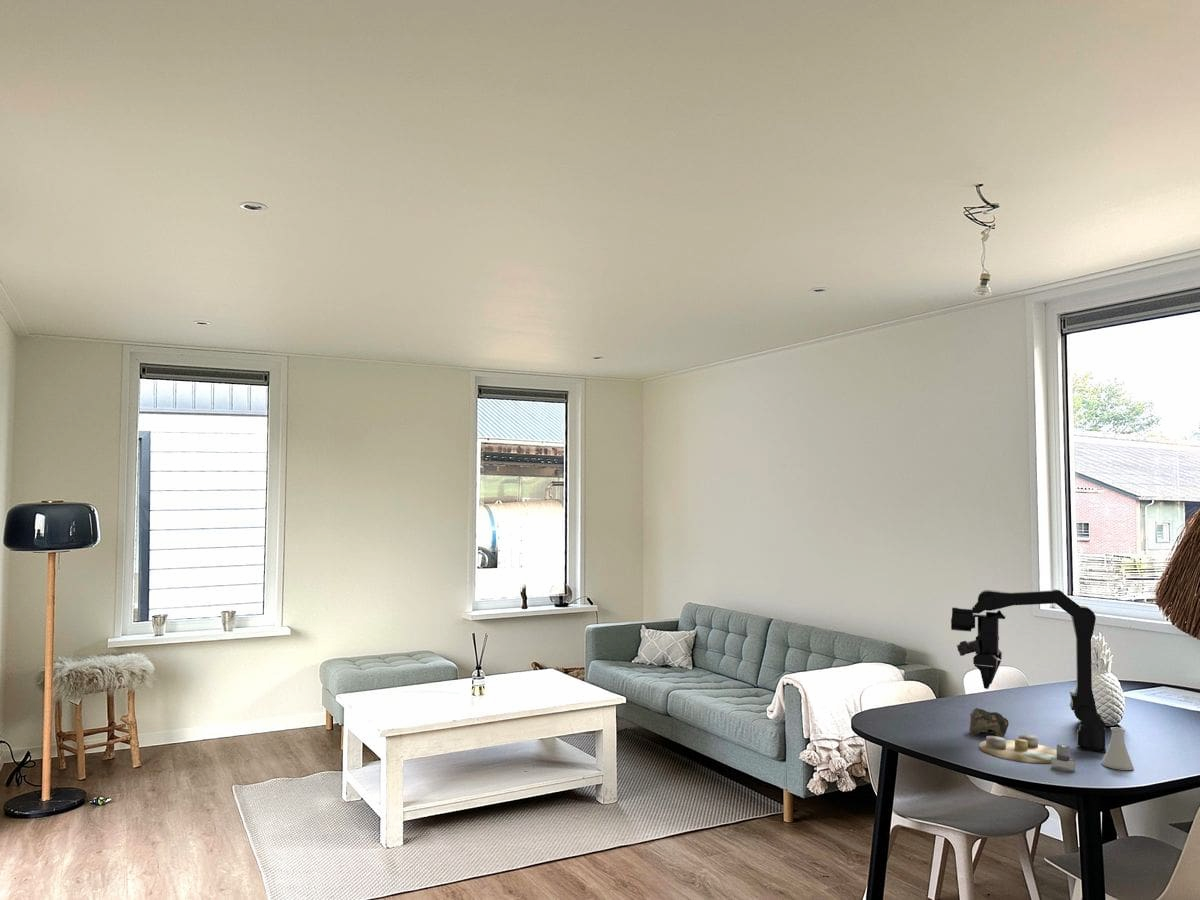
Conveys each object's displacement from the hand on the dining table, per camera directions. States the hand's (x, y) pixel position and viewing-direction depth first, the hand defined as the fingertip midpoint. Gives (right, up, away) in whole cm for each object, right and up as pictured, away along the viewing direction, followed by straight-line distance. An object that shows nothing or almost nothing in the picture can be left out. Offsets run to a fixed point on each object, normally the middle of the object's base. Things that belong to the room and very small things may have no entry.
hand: (987, 686), depth 266 cm
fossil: (0, -15, 0) cm, 15 cm away
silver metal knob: (+5, -13, -34) cm, 37 cm away
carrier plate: (+1, -13, -19) cm, 23 cm away
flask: (+21, -14, -30) cm, 39 cm away
